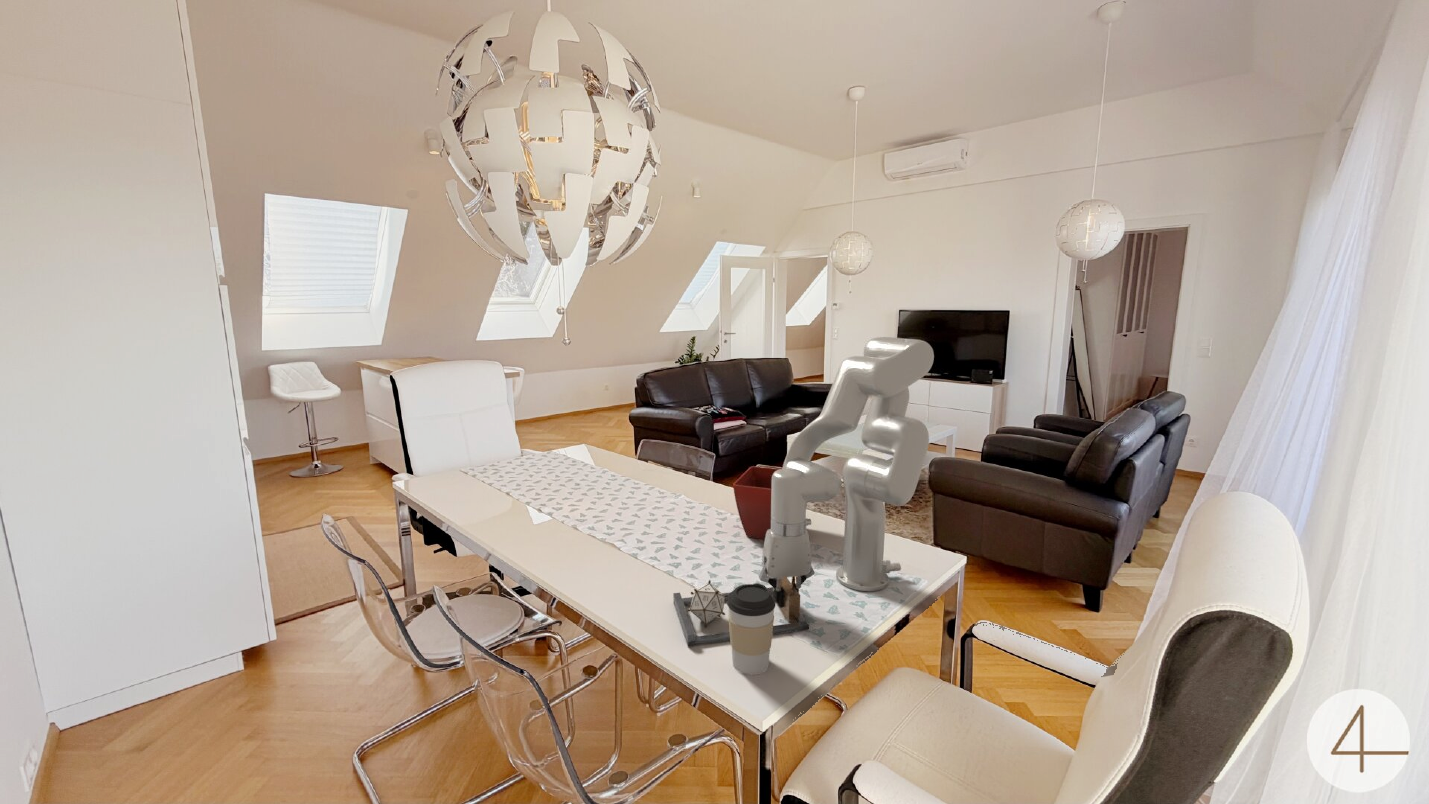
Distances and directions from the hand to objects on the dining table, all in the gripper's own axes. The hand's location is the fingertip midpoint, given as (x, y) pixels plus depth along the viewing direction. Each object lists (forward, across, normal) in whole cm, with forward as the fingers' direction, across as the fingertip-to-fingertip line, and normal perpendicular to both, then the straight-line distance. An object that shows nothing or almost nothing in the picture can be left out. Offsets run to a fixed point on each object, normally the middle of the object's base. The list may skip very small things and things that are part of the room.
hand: (786, 603), depth 129 cm
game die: (+2, +18, 0) cm, 18 cm away
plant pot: (+2, -11, -42) cm, 44 cm away
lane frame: (+2, +11, 0) cm, 11 cm away
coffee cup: (+2, +13, +16) cm, 21 cm away
